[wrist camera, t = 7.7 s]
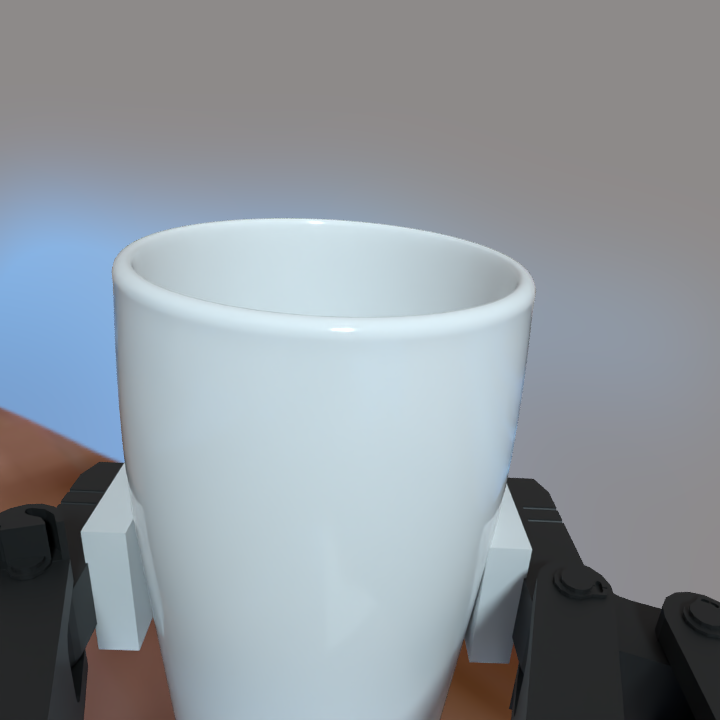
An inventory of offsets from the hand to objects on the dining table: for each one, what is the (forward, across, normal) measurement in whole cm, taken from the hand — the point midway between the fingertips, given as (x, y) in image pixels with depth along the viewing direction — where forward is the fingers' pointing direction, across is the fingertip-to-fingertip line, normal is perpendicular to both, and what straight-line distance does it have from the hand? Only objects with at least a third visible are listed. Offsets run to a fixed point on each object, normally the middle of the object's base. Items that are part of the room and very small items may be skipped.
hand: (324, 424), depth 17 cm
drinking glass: (-5, 0, -9) cm, 11 cm away
